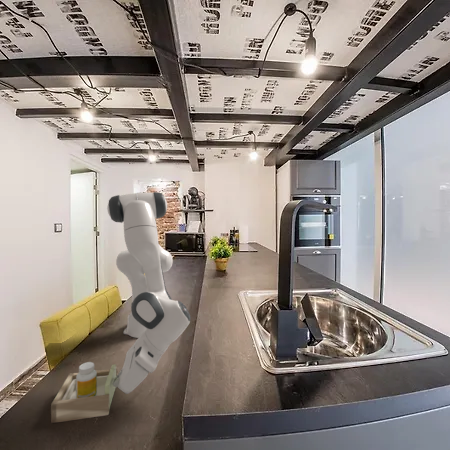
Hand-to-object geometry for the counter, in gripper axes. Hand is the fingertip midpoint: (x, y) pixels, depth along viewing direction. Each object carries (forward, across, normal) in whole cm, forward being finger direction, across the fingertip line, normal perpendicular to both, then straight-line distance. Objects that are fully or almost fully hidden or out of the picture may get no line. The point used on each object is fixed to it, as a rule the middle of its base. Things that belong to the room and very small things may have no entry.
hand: (115, 383), depth 79 cm
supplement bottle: (+8, 0, -3) cm, 9 cm away
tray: (+8, 0, -2) cm, 9 cm away
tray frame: (+8, 0, -2) cm, 9 cm away
